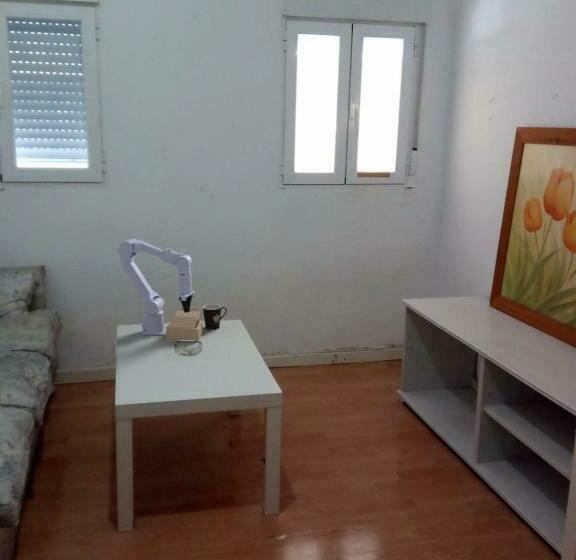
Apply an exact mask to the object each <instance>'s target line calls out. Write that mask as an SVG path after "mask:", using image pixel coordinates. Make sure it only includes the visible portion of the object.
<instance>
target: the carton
mask: <svg viewBox="0 0 576 560" xmlns="http://www.w3.org/2000/svg"><path fill="white" fill-rule="evenodd" d="M165 328H166V331H165V336H166V338H165V339H166V343H167V342H169V343H170V342H171V343H172V342H173V343H175V341H180V340H196V341H199V342H200V339H201V338H202V336H201V335H203V331H204V330H203V320H202V319H201V320H200V319H199V320H196V323H195V328H170V322H169V323H168V325H167V326H166V327H165Z"/></svg>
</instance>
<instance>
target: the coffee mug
mask: <svg viewBox="0 0 576 560" xmlns="http://www.w3.org/2000/svg"><path fill="white" fill-rule="evenodd" d="M223 309H224V310H225V311H224V313H223V315H221V313H222V310H223ZM202 311H203V312H202V313H203V320H204V325H205V329H206V328H207V329H206V330H208V329H213V330H212V331H214V329H216V330H219V329H220V326H221V320H222V319H223V318H224V317H225V315H226V314H227V312H228V309H227V307H224V306H221V305H220V304H217V303H213V304H210V303H209V304H205V305H203V306H202ZM218 328H219V329H218Z"/></svg>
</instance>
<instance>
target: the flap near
mask: <svg viewBox="0 0 576 560" xmlns="http://www.w3.org/2000/svg"><path fill="white" fill-rule="evenodd" d="M169 318H170V319H169V323H170V328H195V323H196V317H175V316H170V317H169Z"/></svg>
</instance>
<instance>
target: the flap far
mask: <svg viewBox="0 0 576 560" xmlns="http://www.w3.org/2000/svg"><path fill="white" fill-rule="evenodd" d="M200 315H201V311H199V310H197V311H194V310H190V311H189V313H184V310H175V314H174V317H196V320H200Z"/></svg>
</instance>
